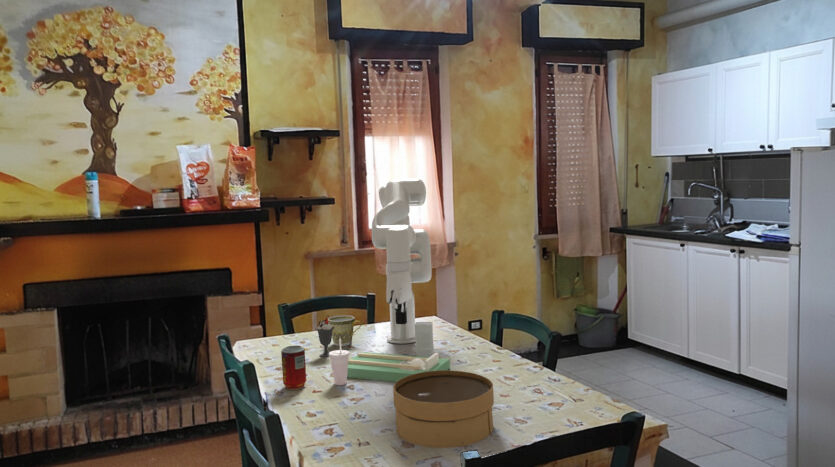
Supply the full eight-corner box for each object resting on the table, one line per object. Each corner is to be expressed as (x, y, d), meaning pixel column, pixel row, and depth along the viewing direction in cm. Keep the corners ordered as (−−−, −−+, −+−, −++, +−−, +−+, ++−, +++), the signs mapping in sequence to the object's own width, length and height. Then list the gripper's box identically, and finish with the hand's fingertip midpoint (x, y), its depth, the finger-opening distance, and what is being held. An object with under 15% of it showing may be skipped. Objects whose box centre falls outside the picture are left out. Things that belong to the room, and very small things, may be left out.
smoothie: (347, 386, 194) (345, 341, 193) (327, 386, 195) (324, 341, 194) (353, 380, 200) (351, 336, 199) (334, 379, 202) (331, 336, 200)
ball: (409, 357, 206) (425, 358, 207) (407, 372, 206) (423, 374, 206) (411, 358, 201) (426, 359, 202) (409, 374, 201) (425, 375, 201)
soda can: (311, 384, 198) (309, 345, 196) (296, 391, 192) (293, 351, 190) (294, 381, 201) (291, 343, 200) (278, 388, 195) (275, 349, 194)
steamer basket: (487, 406, 173) (485, 366, 172) (502, 447, 148) (500, 399, 147) (395, 412, 172) (393, 371, 171) (395, 453, 147) (392, 406, 146)
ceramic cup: (325, 346, 242) (323, 320, 241) (336, 340, 252) (334, 315, 251) (357, 348, 238) (355, 321, 238) (366, 341, 248) (365, 315, 247)
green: (363, 360, 222) (362, 343, 221) (449, 367, 209) (449, 349, 209) (336, 376, 205) (335, 357, 205) (428, 385, 193) (428, 365, 192)
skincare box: (434, 354, 225) (432, 321, 224) (433, 358, 221) (432, 324, 220) (417, 355, 226) (415, 321, 225) (415, 358, 222) (414, 324, 221)
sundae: (334, 357, 227) (332, 316, 225) (315, 358, 227) (313, 316, 226) (337, 352, 233) (335, 312, 232) (318, 353, 233) (316, 312, 232)
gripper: (398, 263, 211) (400, 317, 213) (377, 270, 198) (380, 328, 199) (419, 263, 208) (421, 318, 210) (399, 271, 195) (402, 330, 196)
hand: (401, 323), depth 205 cm, fingers closed
